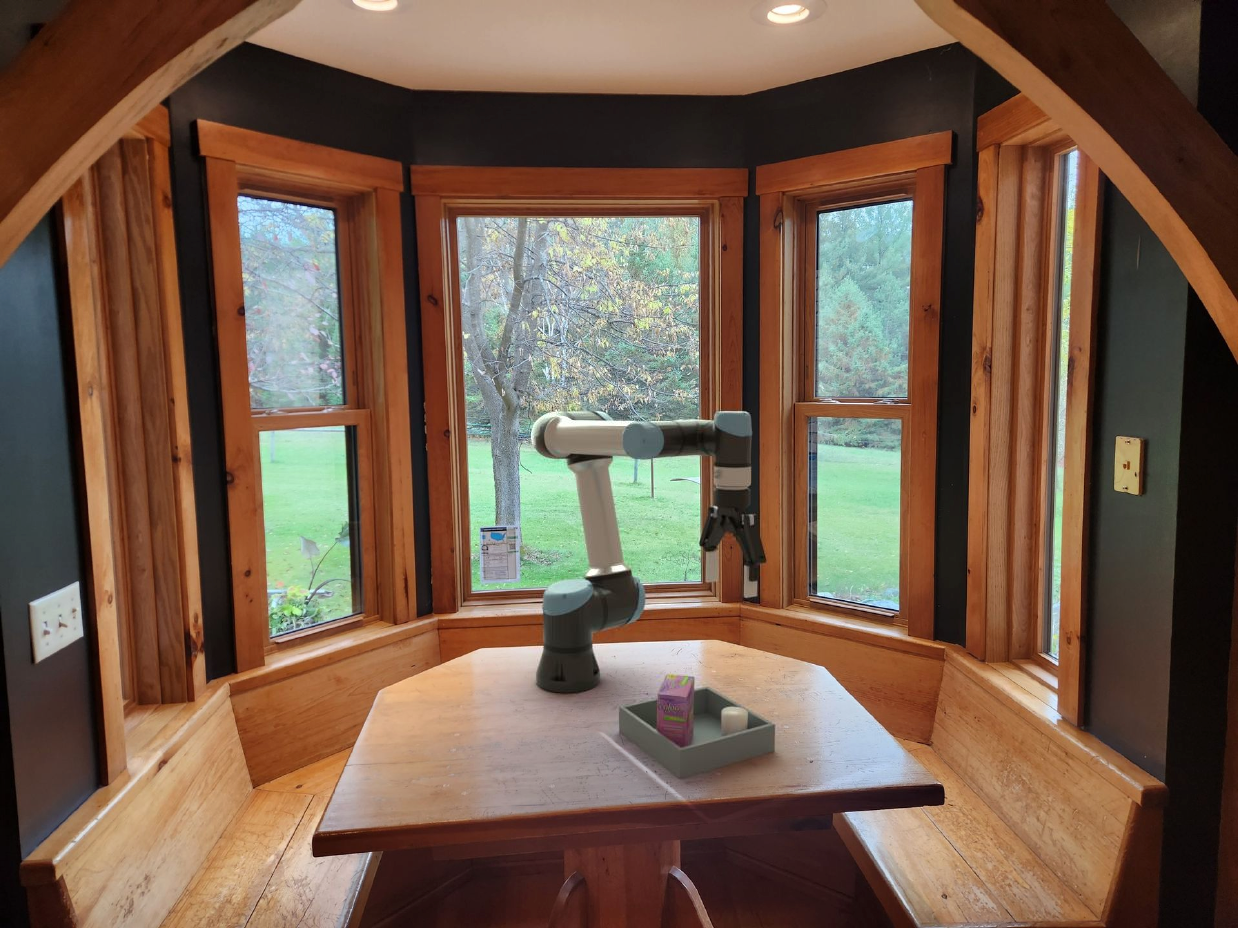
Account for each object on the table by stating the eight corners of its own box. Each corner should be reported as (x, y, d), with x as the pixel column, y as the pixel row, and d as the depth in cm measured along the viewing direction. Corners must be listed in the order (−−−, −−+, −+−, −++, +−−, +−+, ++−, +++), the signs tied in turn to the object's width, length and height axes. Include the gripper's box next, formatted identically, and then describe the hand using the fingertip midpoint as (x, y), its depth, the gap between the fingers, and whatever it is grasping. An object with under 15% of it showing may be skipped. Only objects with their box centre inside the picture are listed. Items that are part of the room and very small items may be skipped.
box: (686, 757, 144) (686, 696, 143) (656, 754, 146) (656, 693, 145) (694, 733, 154) (694, 676, 153) (666, 730, 156) (666, 673, 155)
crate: (619, 735, 155) (619, 706, 155) (707, 713, 166) (707, 686, 165) (679, 783, 137) (679, 750, 136) (774, 754, 147) (775, 724, 147)
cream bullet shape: (716, 739, 152) (716, 709, 151) (736, 733, 154) (736, 704, 154) (731, 749, 148) (732, 719, 147) (752, 743, 150) (753, 713, 149)
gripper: (683, 481, 168) (683, 577, 170) (754, 495, 146) (752, 605, 148) (712, 479, 172) (711, 573, 174) (786, 493, 150) (783, 601, 152)
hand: (730, 588), depth 161 cm, fingers open, 13 cm apart
